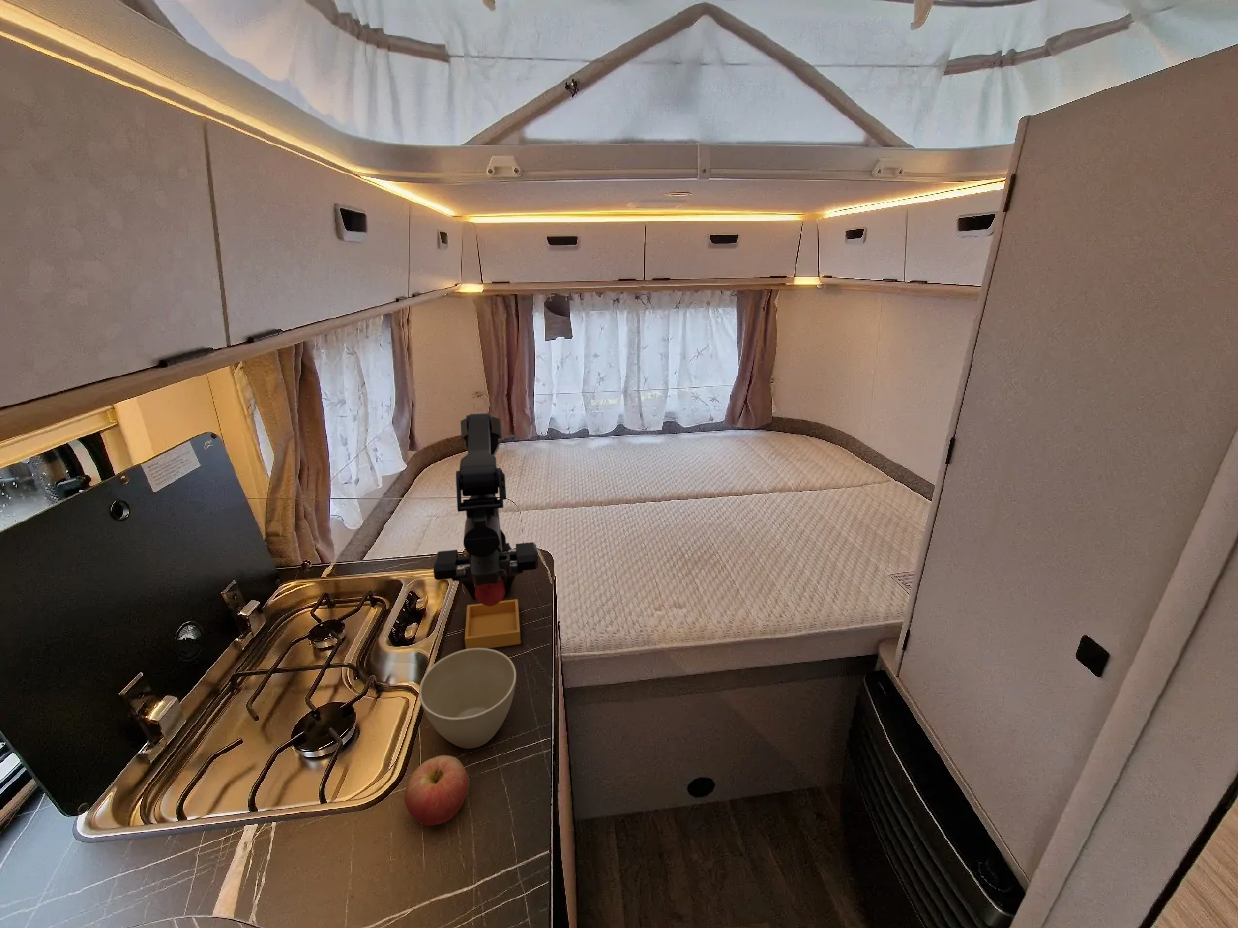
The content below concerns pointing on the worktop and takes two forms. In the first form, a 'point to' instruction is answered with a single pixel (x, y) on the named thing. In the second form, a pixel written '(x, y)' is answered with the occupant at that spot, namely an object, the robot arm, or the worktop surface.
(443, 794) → the apple
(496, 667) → the flower pot
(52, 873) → the worktop surface
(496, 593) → the onion
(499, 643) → the amber tray
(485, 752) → the worktop surface
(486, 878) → the worktop surface
